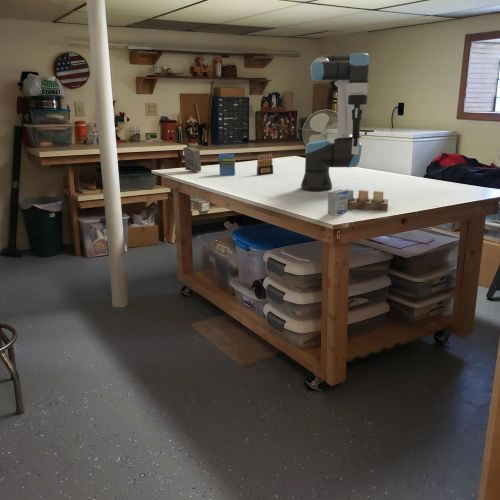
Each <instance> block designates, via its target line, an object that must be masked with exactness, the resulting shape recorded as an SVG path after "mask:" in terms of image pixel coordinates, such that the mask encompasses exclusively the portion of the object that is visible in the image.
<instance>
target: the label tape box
mask: <svg viewBox="0 0 500 500" xmlns="http://www.w3.org/2000/svg"><path fill="white" fill-rule="evenodd" d="M218 158H219V159H218V160H219V176H235V175H236V159H235V154H233V153H219V157H218Z"/></svg>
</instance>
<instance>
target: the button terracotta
mask: <svg viewBox="0 0 500 500" xmlns="http://www.w3.org/2000/svg"><path fill="white" fill-rule="evenodd" d="M357 198H358V202H368V199H369V190H367V189H359V190H358V195H357Z"/></svg>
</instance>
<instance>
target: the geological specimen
mask: <svg viewBox="0 0 500 500" xmlns="http://www.w3.org/2000/svg"><path fill="white" fill-rule="evenodd" d="M182 150H183V155H184V168H185V170H186V171H191V172H193V173H199V172H201V171H202V165H201V164H202V163H201V161H202V159H201V151H200V149H198V148H195V147H189V146H186V147H183V149H182Z"/></svg>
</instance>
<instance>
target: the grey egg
mask: <svg viewBox="0 0 500 500" xmlns="http://www.w3.org/2000/svg"><path fill="white" fill-rule="evenodd" d="M346 190H347V191H348V201H353V198H354V192H355V191H354V189H346Z"/></svg>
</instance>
